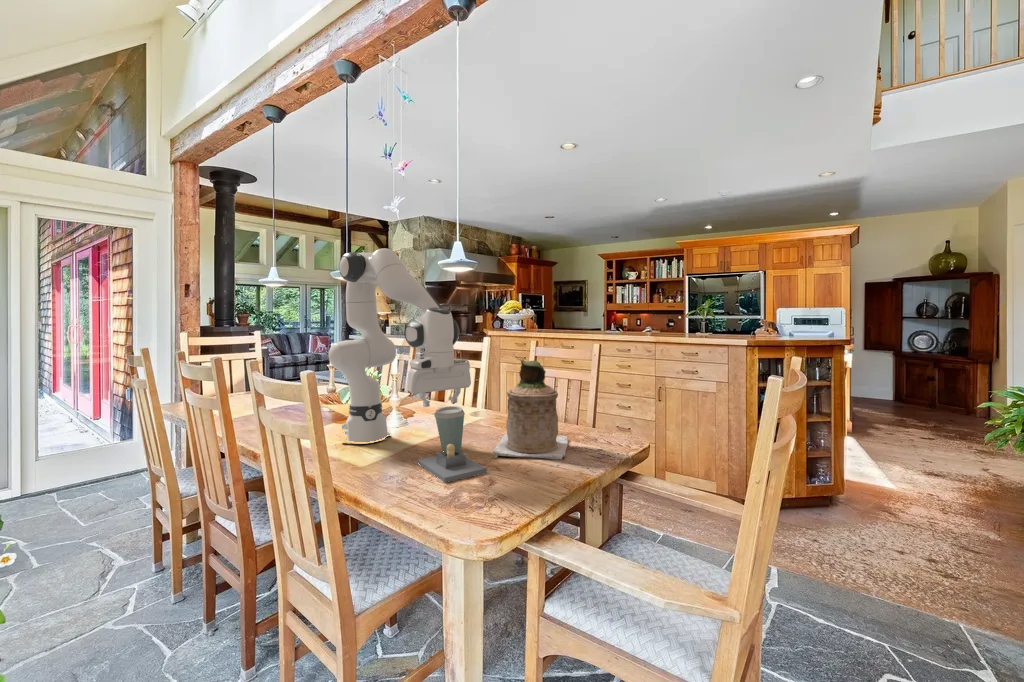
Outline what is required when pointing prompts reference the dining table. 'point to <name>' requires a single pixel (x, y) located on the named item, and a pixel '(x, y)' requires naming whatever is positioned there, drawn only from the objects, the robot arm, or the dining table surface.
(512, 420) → the cookie jar
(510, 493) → the dining table surface
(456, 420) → the disposable coffee cup
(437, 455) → the hollow square frame
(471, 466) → the keeper board
